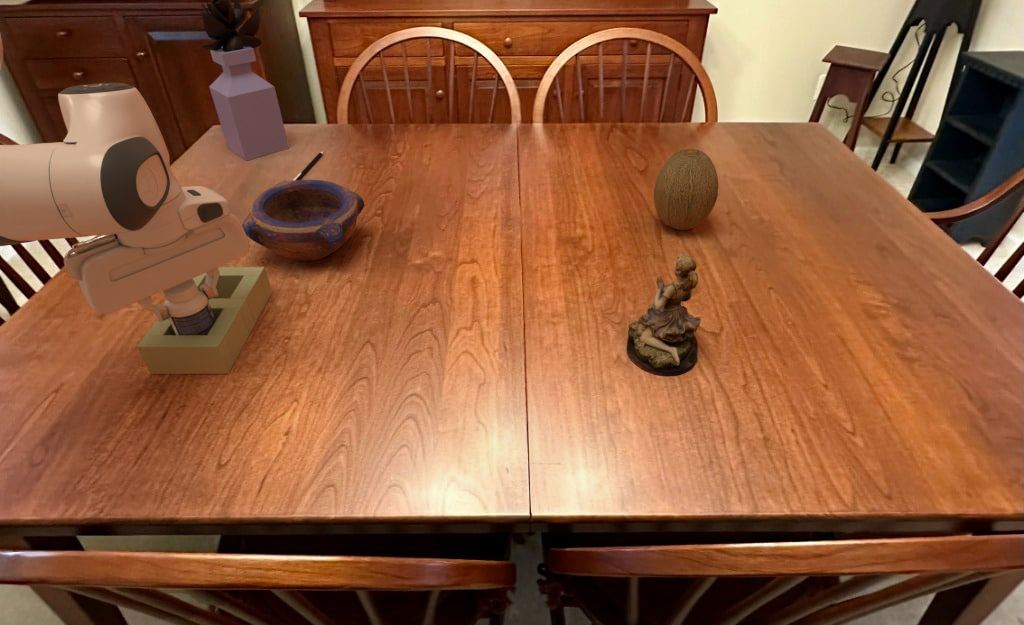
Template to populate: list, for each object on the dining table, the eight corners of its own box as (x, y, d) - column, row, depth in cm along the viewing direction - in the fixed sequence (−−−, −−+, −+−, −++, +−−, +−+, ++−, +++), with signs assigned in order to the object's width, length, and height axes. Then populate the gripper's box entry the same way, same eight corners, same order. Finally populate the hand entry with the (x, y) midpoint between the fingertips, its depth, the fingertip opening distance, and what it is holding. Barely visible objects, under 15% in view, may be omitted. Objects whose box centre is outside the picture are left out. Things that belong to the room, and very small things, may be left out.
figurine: (649, 313, 93) (663, 228, 84) (714, 342, 88) (738, 255, 79) (607, 352, 86) (618, 264, 77) (676, 386, 81) (697, 296, 72)
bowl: (339, 281, 101) (328, 229, 94) (241, 270, 103) (224, 218, 97) (379, 228, 114) (371, 180, 108) (292, 219, 117) (280, 171, 111)
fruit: (718, 222, 116) (736, 147, 107) (695, 247, 109) (712, 169, 100) (663, 205, 121) (675, 133, 112) (638, 228, 114) (649, 153, 105)
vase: (278, 132, 153) (240, -24, 132) (300, 144, 147) (263, -18, 125) (223, 147, 146) (172, -16, 124) (243, 161, 139) (194, -8, 118)
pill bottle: (229, 337, 87) (208, 281, 81) (196, 358, 83) (172, 302, 77) (206, 325, 89) (184, 270, 83) (173, 345, 86) (147, 289, 80)
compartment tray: (228, 374, 83) (217, 346, 80) (150, 374, 83) (136, 346, 80) (272, 292, 98) (264, 266, 95) (206, 292, 98) (196, 266, 95)
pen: (288, 189, 128) (287, 184, 127) (321, 153, 143) (320, 148, 142) (292, 189, 128) (291, 184, 127) (325, 153, 143) (324, 148, 142)
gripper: (66, 260, 66) (117, 355, 75) (240, 197, 78) (266, 284, 87) (47, 241, 70) (97, 333, 78) (216, 183, 82) (244, 268, 90)
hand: (187, 307), depth 83 cm, fingers closed on pill bottle, 5 cm apart
